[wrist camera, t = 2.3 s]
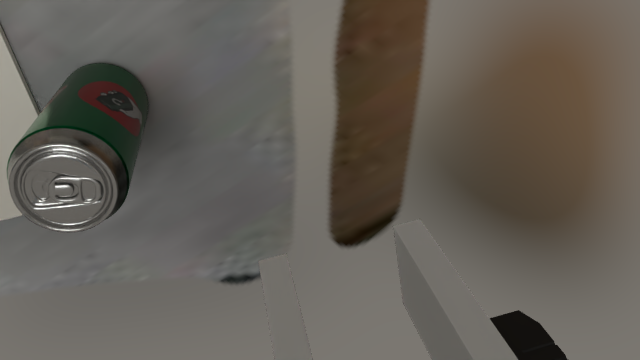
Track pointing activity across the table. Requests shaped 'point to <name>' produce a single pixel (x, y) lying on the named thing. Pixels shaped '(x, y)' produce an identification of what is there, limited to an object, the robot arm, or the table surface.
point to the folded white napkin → (12, 119)
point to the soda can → (80, 150)
